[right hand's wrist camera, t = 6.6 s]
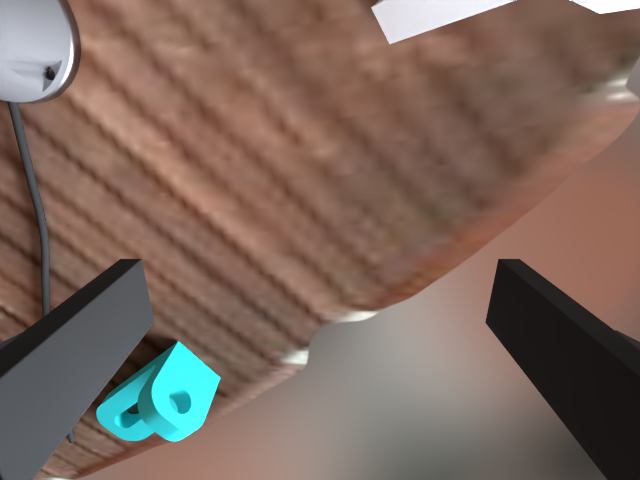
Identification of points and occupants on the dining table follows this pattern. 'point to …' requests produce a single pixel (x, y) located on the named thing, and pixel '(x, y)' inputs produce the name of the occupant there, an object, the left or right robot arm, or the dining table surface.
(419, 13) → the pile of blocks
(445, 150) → the dining table surface
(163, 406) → the bracket
